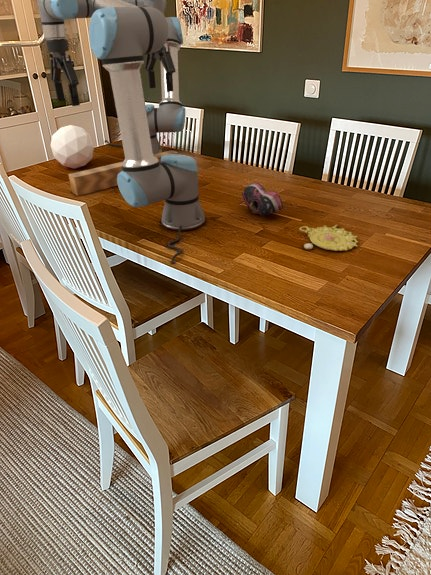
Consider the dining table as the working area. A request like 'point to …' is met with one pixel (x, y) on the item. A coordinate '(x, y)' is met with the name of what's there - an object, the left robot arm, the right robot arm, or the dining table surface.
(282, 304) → the dining table surface
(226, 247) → the dining table surface
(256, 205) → the athletic shoe
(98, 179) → the bar
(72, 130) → the sphere
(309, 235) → the decorative object
